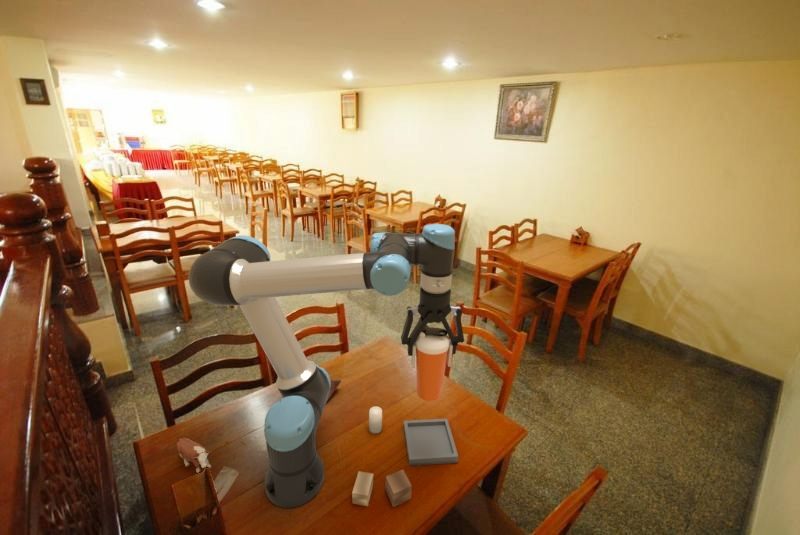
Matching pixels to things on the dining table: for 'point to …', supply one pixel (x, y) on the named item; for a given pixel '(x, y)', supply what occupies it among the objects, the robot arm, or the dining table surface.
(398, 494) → the walnut block
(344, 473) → the dining table surface
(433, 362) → the shaker bottle
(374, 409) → the ceramic shaker
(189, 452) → the bull figurine
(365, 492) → the oak block
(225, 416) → the dining table surface
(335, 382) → the fossil
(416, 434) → the tray
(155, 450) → the dining table surface
